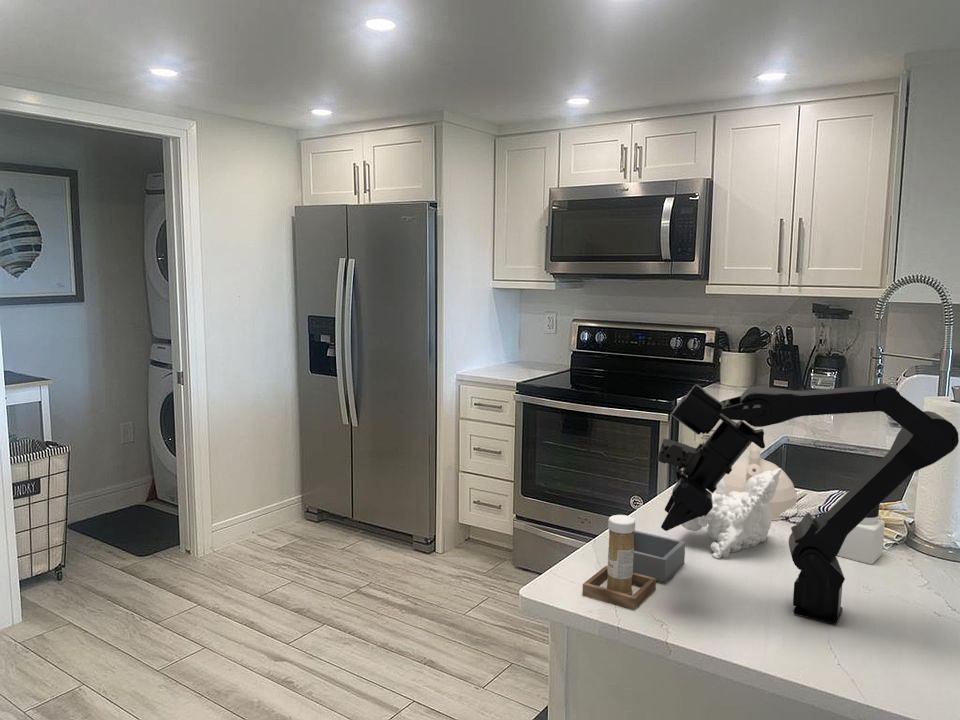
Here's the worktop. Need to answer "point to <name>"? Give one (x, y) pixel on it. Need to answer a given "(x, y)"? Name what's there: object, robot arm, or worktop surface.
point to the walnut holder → (619, 598)
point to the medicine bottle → (865, 540)
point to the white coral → (739, 514)
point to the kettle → (754, 466)
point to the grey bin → (657, 556)
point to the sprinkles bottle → (620, 553)
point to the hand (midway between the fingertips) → (665, 520)
